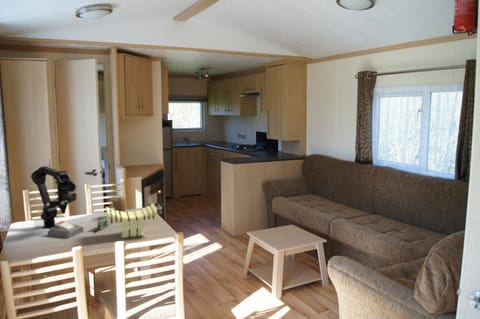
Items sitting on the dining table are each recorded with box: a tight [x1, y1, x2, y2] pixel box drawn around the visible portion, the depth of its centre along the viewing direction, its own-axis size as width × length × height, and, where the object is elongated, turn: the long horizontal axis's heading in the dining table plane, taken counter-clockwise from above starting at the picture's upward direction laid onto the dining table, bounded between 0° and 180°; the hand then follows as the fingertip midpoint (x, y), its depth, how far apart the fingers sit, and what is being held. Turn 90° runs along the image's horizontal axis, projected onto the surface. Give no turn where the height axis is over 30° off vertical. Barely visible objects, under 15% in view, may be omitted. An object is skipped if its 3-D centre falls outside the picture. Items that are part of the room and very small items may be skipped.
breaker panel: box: [47, 224, 84, 239], centre depth 261 cm, size 16×14×4 cm
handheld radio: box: [93, 213, 113, 233], centre depth 274 cm, size 7×3×25 cm
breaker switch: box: [55, 220, 75, 230], centre depth 261 cm, size 10×6×1 cm, turn 74°
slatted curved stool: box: [105, 202, 158, 239], centre depth 258 cm, size 30×16×18 cm, turn 110°
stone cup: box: [111, 196, 129, 218], centre depth 297 cm, size 15×12×15 cm
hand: (63, 213), depth 266 cm, fingers closed
